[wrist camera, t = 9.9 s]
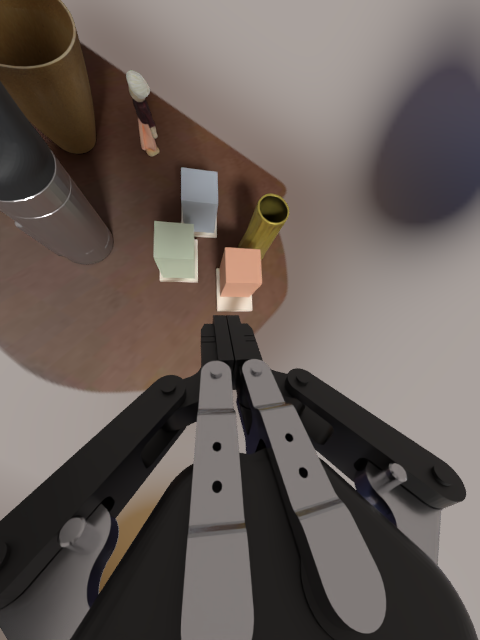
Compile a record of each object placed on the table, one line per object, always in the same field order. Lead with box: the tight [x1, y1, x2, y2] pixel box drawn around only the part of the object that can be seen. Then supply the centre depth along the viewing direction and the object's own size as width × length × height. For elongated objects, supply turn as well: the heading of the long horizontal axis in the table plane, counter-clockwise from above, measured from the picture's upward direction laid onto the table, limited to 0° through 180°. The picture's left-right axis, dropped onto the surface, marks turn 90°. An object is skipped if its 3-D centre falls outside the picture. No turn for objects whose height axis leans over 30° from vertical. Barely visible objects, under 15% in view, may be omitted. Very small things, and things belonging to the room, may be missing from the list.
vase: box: [238, 194, 289, 260], centre depth 40 cm, size 6×6×14 cm
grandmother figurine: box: [126, 70, 160, 156], centre depth 39 cm, size 8×4×13 cm, turn 41°
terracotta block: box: [220, 247, 262, 297], centre depth 39 cm, size 6×6×9 cm
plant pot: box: [0, 0, 96, 154], centre depth 35 cm, size 15×15×16 cm
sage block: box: [154, 221, 195, 278], centre depth 37 cm, size 6×6×9 cm
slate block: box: [181, 167, 218, 233], centre depth 40 cm, size 6×6×9 cm
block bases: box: [160, 208, 252, 311], centre depth 44 cm, size 18×25×1 cm
